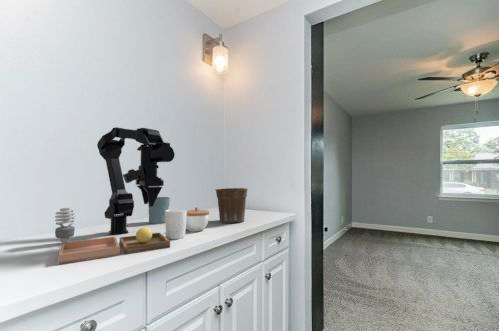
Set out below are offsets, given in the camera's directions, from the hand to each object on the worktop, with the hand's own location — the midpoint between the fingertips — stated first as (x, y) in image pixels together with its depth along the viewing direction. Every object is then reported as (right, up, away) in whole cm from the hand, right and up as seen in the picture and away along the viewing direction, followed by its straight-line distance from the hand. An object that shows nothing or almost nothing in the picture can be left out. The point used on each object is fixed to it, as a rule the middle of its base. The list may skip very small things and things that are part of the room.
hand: (148, 205), depth 93 cm
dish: (-10, -11, -18) cm, 23 cm away
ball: (+2, -11, -10) cm, 15 cm away
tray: (+2, -12, -10) cm, 15 cm away
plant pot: (+28, -13, +33) cm, 46 cm away
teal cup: (-7, -13, +31) cm, 34 cm away
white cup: (+10, -12, +1) cm, 16 cm away
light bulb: (-25, -12, -7) cm, 29 cm away
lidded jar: (+15, -13, +14) cm, 24 cm away
